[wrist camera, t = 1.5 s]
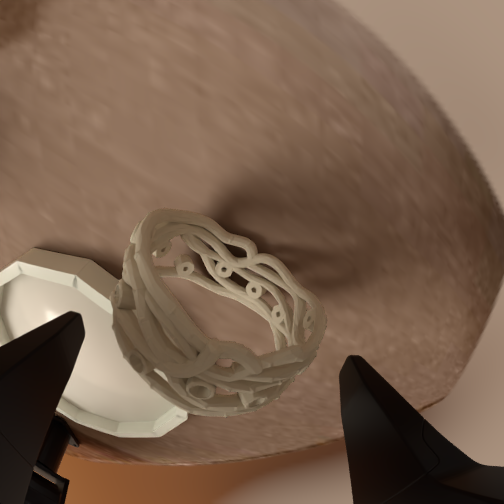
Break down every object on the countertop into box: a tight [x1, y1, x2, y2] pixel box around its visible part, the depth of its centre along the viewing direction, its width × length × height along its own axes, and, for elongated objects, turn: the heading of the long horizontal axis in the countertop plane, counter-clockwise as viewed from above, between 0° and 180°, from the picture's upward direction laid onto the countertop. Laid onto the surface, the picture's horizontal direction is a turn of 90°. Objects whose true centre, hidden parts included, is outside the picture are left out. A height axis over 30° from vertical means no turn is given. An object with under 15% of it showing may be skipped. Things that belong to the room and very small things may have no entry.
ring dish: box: [0, 248, 188, 438], centre depth 18 cm, size 17×17×2 cm
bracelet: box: [109, 207, 327, 418], centre depth 11 cm, size 4×8×8 cm, turn 61°
